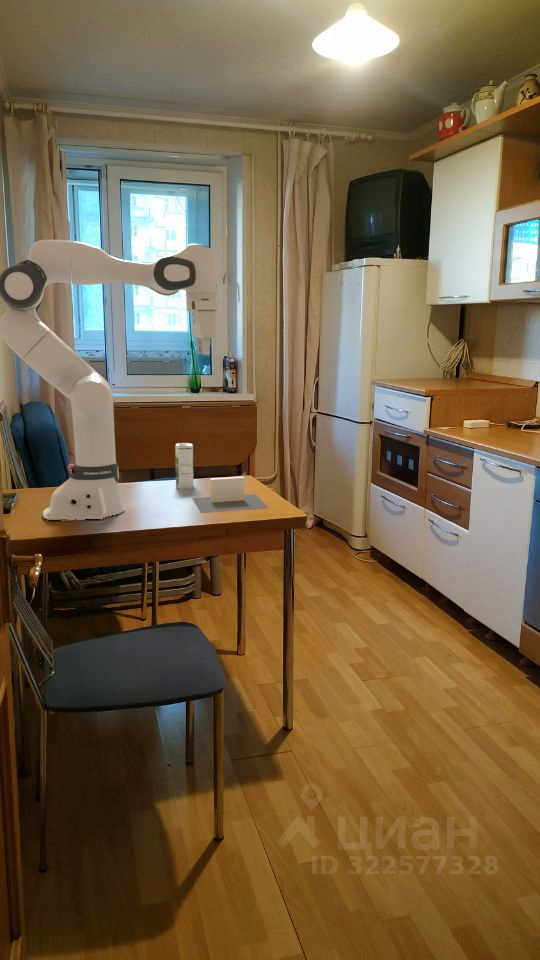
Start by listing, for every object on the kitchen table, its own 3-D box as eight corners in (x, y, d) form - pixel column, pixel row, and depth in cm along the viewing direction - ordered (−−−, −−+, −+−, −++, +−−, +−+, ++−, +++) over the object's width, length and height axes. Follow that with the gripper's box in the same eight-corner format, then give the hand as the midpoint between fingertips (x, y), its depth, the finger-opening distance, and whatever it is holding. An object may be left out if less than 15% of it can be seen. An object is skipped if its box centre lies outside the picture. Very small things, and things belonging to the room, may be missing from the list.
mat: (200, 513, 194) (200, 512, 194) (192, 499, 211) (192, 498, 211) (269, 509, 199) (269, 507, 199) (255, 495, 216) (255, 494, 216)
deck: (211, 502, 206) (211, 479, 204) (210, 500, 207) (210, 478, 206) (244, 500, 208) (244, 477, 206) (243, 498, 210) (242, 476, 208)
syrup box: (176, 485, 231) (174, 443, 228) (194, 485, 231) (192, 442, 228) (176, 489, 225) (174, 445, 222) (194, 488, 226) (192, 445, 223)
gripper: (186, 306, 202) (188, 353, 205) (195, 303, 183) (197, 355, 186) (207, 306, 204) (209, 353, 207) (219, 303, 184) (220, 355, 187)
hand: (203, 354), depth 196 cm, fingers open, 8 cm apart
